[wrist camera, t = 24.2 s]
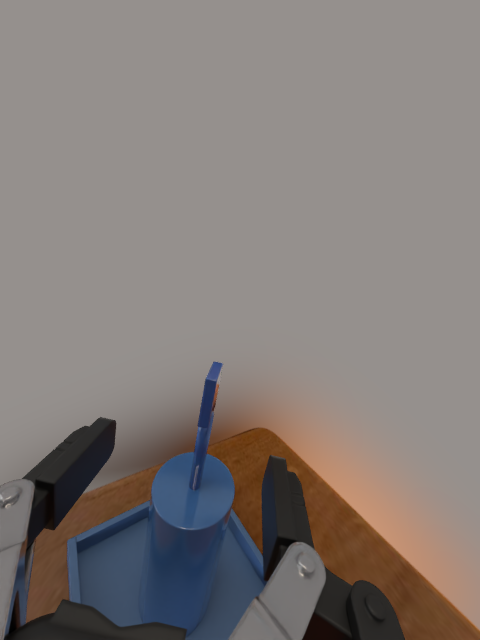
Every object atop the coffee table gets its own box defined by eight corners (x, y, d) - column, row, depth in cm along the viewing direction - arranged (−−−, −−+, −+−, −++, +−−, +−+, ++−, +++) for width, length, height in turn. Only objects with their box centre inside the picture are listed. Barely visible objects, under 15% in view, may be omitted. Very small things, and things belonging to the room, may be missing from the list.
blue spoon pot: (203, 652, 17) (261, 407, 12) (122, 632, 17) (148, 383, 12) (217, 552, 23) (260, 361, 18) (157, 538, 23) (184, 345, 18)
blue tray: (85, 896, 10) (87, 878, 10) (67, 556, 21) (67, 539, 20) (291, 625, 19) (297, 609, 19) (205, 484, 30) (208, 471, 29)
